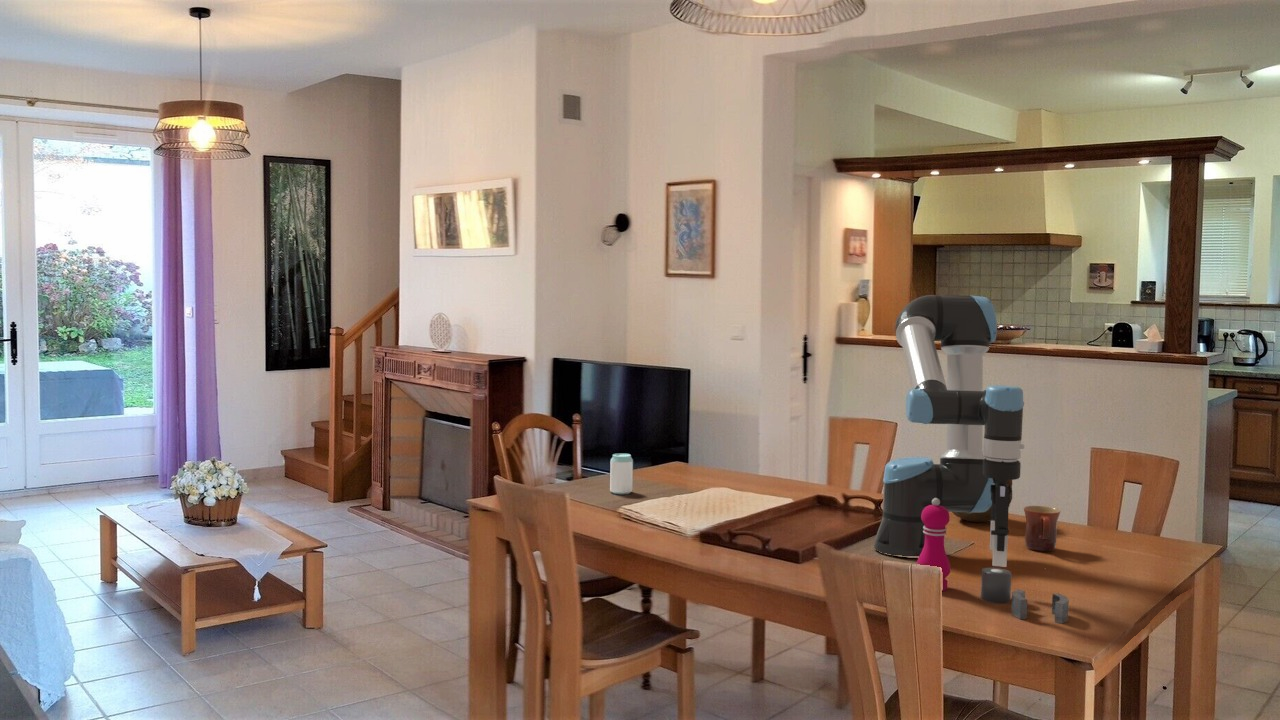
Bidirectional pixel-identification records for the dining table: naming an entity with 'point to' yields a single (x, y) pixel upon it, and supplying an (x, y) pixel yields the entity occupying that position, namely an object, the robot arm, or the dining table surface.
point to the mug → (1041, 527)
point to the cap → (996, 585)
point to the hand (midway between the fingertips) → (997, 558)
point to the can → (621, 474)
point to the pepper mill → (935, 538)
